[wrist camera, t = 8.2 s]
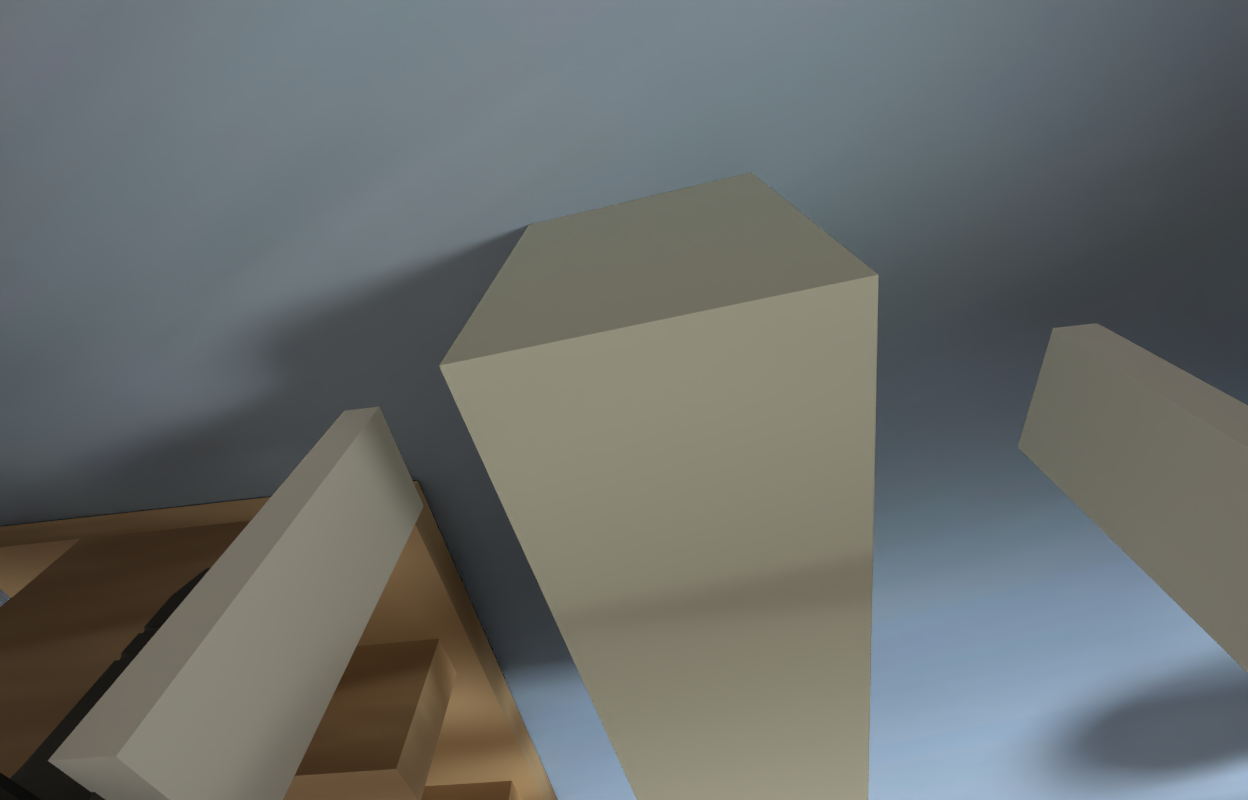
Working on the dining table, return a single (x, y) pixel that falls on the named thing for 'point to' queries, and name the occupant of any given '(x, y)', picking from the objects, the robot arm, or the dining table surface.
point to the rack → (363, 701)
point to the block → (693, 479)
